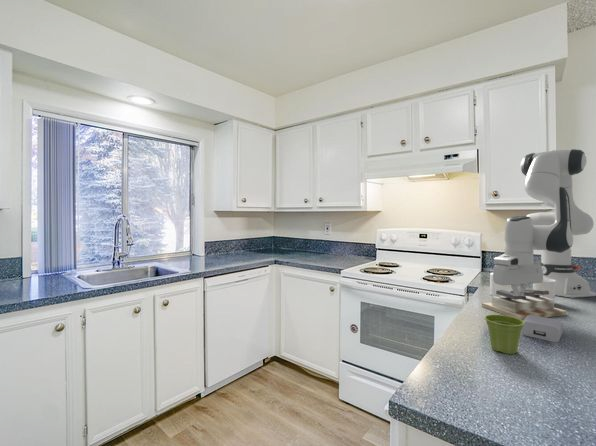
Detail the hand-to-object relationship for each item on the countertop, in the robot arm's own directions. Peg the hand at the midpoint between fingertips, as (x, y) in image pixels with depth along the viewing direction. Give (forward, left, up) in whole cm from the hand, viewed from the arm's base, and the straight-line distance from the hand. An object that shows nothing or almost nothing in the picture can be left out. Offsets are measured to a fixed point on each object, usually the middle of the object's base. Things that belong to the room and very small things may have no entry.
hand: (518, 295), depth 116 cm
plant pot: (+24, +29, -8) cm, 39 cm away
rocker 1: (+1, -4, -1) cm, 5 cm away
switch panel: (-6, -6, -8) cm, 11 cm away
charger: (+3, +16, -8) cm, 18 cm away
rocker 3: (-13, -8, -1) cm, 15 cm away
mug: (-13, -27, -8) cm, 31 cm away
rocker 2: (-6, -6, -1) cm, 8 cm away
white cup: (-23, -17, -8) cm, 30 cm away
